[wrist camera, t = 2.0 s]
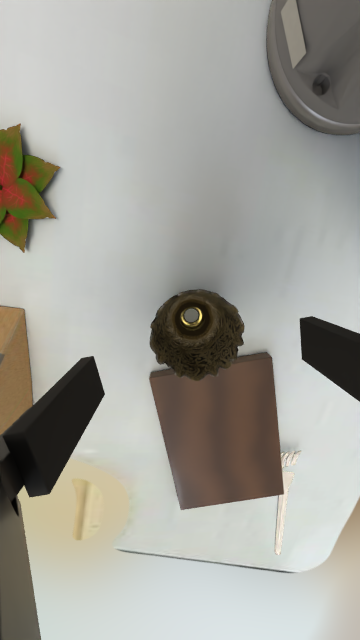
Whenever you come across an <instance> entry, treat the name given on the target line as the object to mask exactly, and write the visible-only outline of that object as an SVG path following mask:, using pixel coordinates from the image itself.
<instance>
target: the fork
mask: <svg viewBox="0 0 360 640" xmlns="http://www.w3.org/2000/svg"><path fill="white" fill-rule="evenodd" d="M300 452H301V451H298V452H297V453H295V451H293V452H291V453H290V452H286V453H285V454H284V452H282V453H281V456H282V455H283V454H284V455H283V456H282V458H281V464H282V468H284V467H283V466H284V462H285V459H286V467H288V466H289V462H290V459H291V457H292V455H293V454H294V453H295V454H294V456H293V457H292V461H291V465H295V464H296V461H297V458H298V456H299V454H300ZM289 453H290V454H289ZM288 454H289V455H288ZM287 455H288V456H287ZM286 457H287V458H286ZM282 475H283V486H284V494H283V495H279V502H278V515H277V528H276V541H275V553H276V555H280V554H281V546H282V537H283V529H284V521H285V513H286V505H287V497H288V489H289V486H290V484H291V482H292V480H293V478H294V473H293V472H286V471H282Z"/></svg>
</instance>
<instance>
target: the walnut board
mask: <svg viewBox="0 0 360 640" xmlns="http://www.w3.org/2000/svg"><path fill="white" fill-rule="evenodd" d="M149 380H150V384H151V388H152V392H153V396H154V400H155V404H156V409H157V413H158V417H159V421H160V425H161V429H162V434H163V438H164V442H165V446H166V450H167V454H168V458H169V463H170V467H171V471H172V475H173V479H174V483H175V487H176V492H177V496H178V500H179V504H180V508H181V510H184V509H191V508H197V507H204V506H210V505H217V504H224V503H230V502H237V501H243V500H250V499H257V498H263V497H270V496H276V495H283V494H284V486H283V475H282V464H281V453H280V442H279V431H278V419H277V408H276V397H275V386H274V375H273V364H272V357H271V356H270V355H269V354H268V353H267V352H265V353H259V354H254V355H248V356H242V357H237V360H234V361H232V365H231V367H230V368H228V369H222V368H220V367H219V370H218V376H217V377H213V376H210V374H209V375H207V376H206V377H205V378H203V379H202V380H200V381H193V380H190V379H188V378H187V377H186V376H184V377H182V378H179V377H177V376H176V375H175V372H174V369H167V370H162V371H156V372H151V374H150V378H149Z"/></svg>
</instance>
